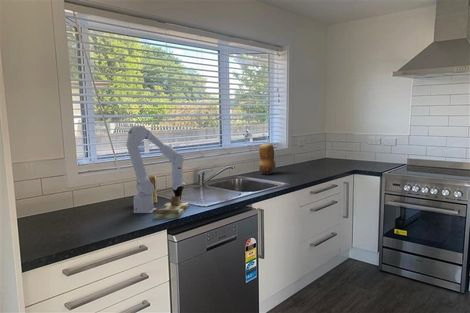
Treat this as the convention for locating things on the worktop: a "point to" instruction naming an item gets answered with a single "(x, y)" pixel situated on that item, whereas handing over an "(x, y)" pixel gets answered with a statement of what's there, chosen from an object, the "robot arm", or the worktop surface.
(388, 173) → the worktop surface
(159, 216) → the trap runway
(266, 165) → the butternut squash
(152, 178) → the candy box
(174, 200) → the walnut block
